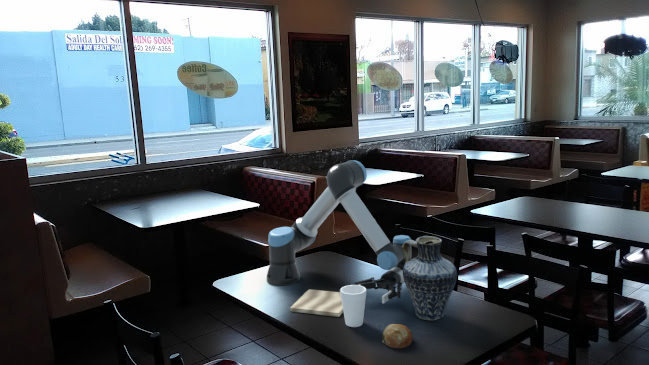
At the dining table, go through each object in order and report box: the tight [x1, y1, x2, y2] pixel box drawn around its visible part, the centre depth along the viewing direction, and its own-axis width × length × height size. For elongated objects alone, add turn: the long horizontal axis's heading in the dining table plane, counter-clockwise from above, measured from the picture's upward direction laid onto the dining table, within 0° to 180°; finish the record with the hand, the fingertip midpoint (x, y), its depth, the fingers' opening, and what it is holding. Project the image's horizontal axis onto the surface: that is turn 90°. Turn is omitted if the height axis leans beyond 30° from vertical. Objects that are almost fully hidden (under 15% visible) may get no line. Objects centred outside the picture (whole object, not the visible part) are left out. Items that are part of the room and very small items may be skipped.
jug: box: [402, 235, 458, 321], centre depth 195 cm, size 21×19×30 cm
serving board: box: [290, 288, 344, 318], centre depth 212 cm, size 20×20×2 cm
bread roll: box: [381, 323, 414, 349], centre depth 178 cm, size 10×10×8 cm
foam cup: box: [339, 284, 367, 328], centre depth 193 cm, size 10×9×13 cm
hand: (366, 296), depth 200 cm, fingers open, 13 cm apart
